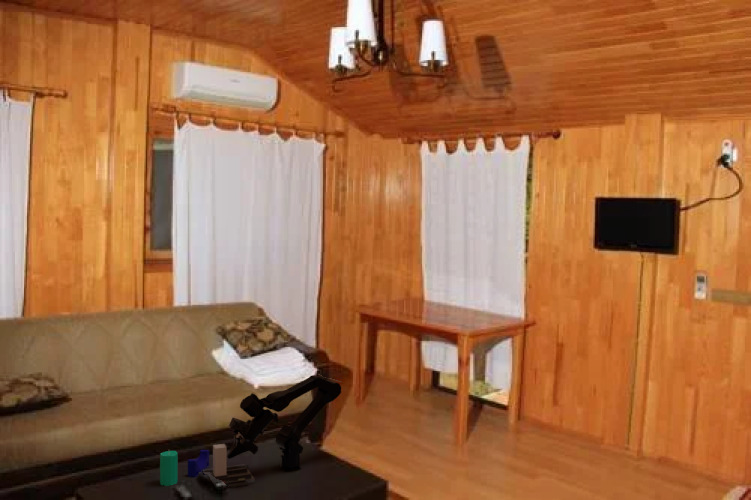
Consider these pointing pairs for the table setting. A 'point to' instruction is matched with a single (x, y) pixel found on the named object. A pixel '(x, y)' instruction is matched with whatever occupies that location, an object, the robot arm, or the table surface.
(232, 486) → the cord near
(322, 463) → the table surface
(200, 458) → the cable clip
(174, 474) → the candle
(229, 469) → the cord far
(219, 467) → the pinkish beige rectangular block
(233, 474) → the panel
